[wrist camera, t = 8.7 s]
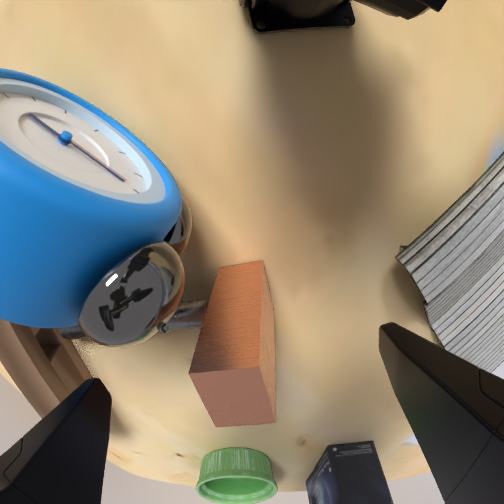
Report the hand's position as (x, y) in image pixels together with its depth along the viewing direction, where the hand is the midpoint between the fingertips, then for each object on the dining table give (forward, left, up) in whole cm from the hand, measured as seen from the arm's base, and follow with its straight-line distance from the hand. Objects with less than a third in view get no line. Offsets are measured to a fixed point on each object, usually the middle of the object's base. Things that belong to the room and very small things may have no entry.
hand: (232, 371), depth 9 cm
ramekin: (+6, +28, -13) cm, 31 cm away
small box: (-6, +33, -13) cm, 36 cm away
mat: (-26, +8, -14) cm, 30 cm away
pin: (+7, +4, -13) cm, 16 cm away
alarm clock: (+12, -12, -6) cm, 18 cm away
